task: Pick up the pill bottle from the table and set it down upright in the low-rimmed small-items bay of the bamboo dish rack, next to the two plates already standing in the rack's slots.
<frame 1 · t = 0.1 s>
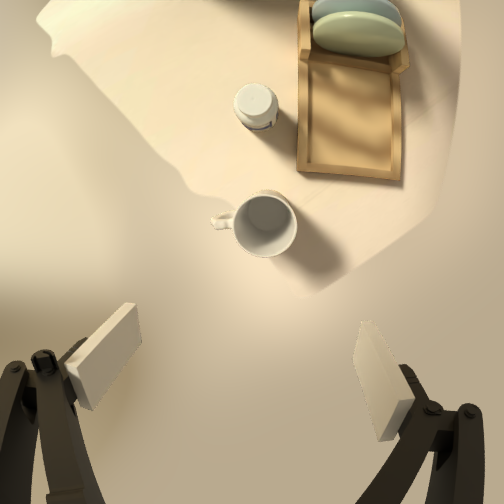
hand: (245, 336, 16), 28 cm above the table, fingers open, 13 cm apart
dish rack: (349, 92, 36), on the table
mug: (256, 210, 42), on the table
plate sage: (347, 54, 34), resting on dish rack
pill bottle: (259, 115, 38), on the table
plate blue: (346, 36, 33), resting on dish rack
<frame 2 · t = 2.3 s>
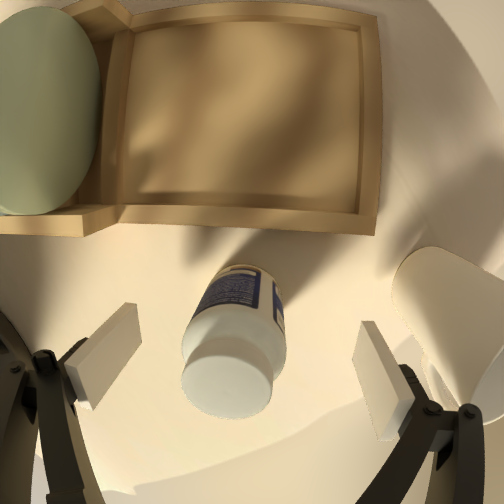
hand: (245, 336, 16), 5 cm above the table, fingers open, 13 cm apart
dish rack: (183, 109, 17), on the table
mug: (420, 302, 20), on the table
plate sage: (102, 118, 18), resting on dish rack
pill bottle: (244, 297, 21), on the table
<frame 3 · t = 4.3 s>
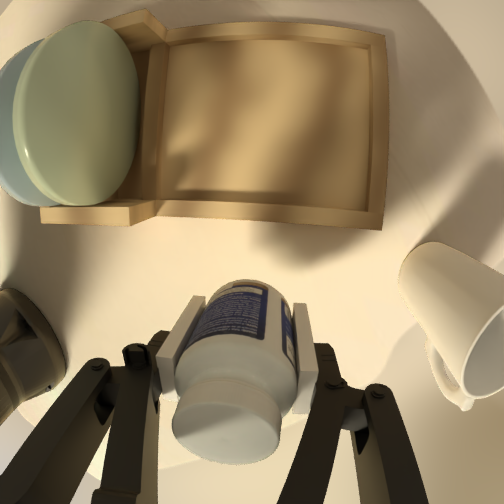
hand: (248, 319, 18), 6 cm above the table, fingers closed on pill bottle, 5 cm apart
dish rack: (215, 117, 20), on the table
mug: (424, 292, 22), on the table
plate sage: (139, 122, 21), resting on dish rack
pill bottle: (249, 315, 18), point 5 cm above the table, touching gripper
plate blue: (107, 126, 21), resting on dish rack
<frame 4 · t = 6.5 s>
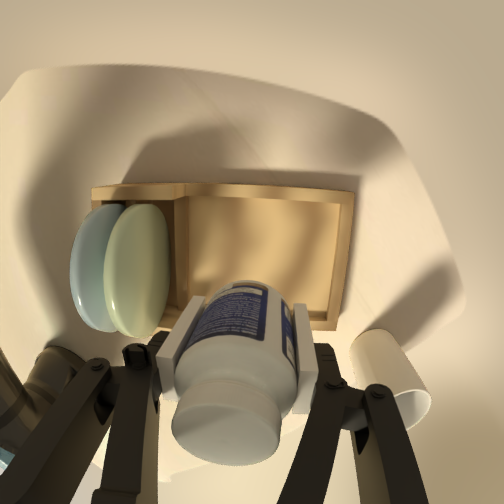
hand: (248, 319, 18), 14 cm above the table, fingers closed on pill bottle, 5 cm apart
dish rack: (226, 254, 31), on the table
mug: (369, 358, 34), on the table
plate sage: (169, 250, 32), resting on dish rack
pill bottle: (249, 315, 18), point 13 cm above the table, touching gripper
plate blue: (142, 248, 32), resting on dish rack
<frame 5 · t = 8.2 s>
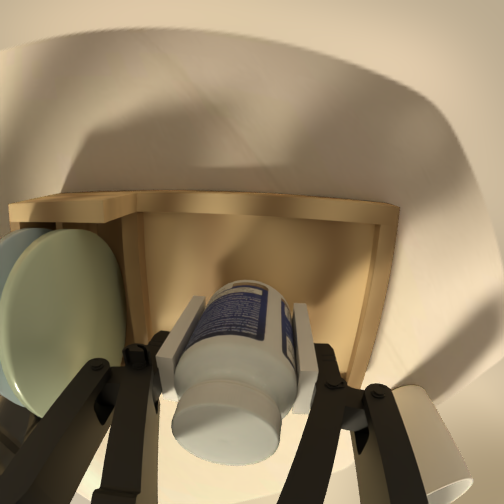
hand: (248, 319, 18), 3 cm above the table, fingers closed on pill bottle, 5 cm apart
dish rack: (203, 295, 21), on the table
mug: (393, 416, 24), on the table
plate sage: (124, 287, 21), resting on dish rack
pill bottle: (249, 315, 18), point 2 cm above the table, touching gripper
plate blue: (90, 283, 22), resting on dish rack
when the fingers open (2 cm above the table, at t = 9.1 s): pill bottle stays where it is, resting on dish rack.
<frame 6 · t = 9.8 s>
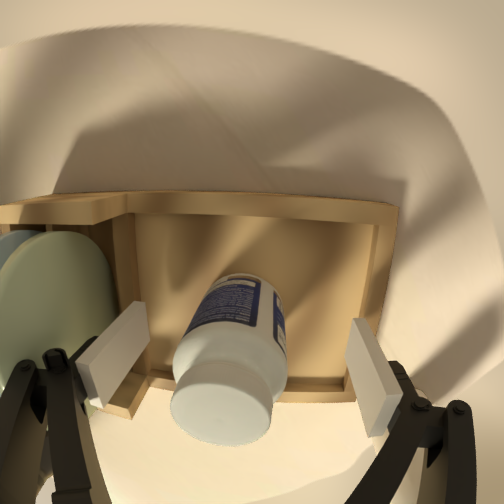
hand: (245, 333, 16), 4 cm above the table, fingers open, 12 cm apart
dish rack: (196, 298, 20), on the table
mug: (392, 419, 23), on the table
plate sage: (116, 289, 21), resting on dish rack
pill bottle: (243, 308, 19), point 1 cm above the table, touching dish rack
plate blue: (83, 285, 21), resting on dish rack
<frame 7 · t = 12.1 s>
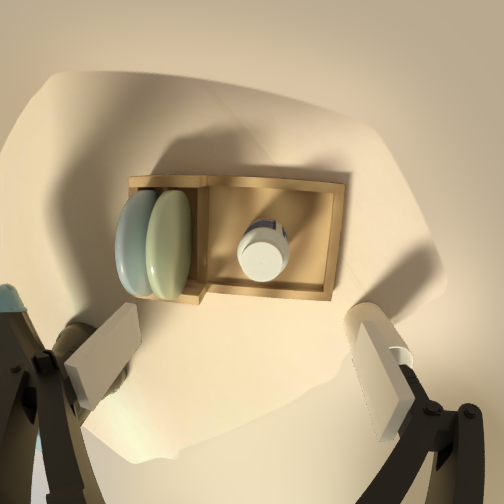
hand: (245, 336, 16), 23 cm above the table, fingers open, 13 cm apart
dish rack: (239, 234, 38), on the table
mug: (361, 329, 40), on the table
plate sage: (190, 231, 38), resting on dish rack
pill bottle: (266, 238, 37), point 1 cm above the table, touching dish rack
plate blue: (167, 230, 38), resting on dish rack
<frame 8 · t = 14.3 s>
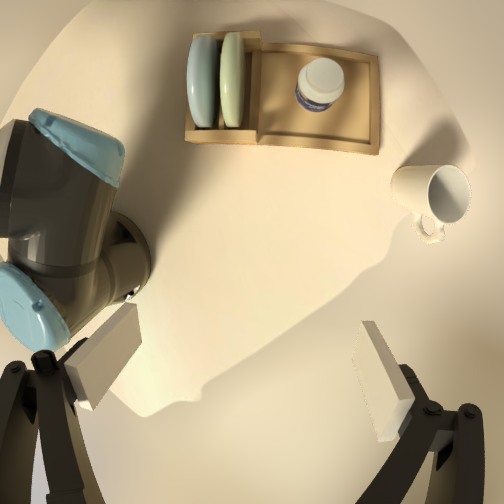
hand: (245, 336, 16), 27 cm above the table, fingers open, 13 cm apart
dish rack: (288, 95, 36), on the table
mug: (407, 197, 38), on the table
plate sage: (241, 93, 36), resting on dish rack
pill bottle: (314, 95, 35), point 1 cm above the table, touching dish rack
plate blue: (217, 93, 37), resting on dish rack
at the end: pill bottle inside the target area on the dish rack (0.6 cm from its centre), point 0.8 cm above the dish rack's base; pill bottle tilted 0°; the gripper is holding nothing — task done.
